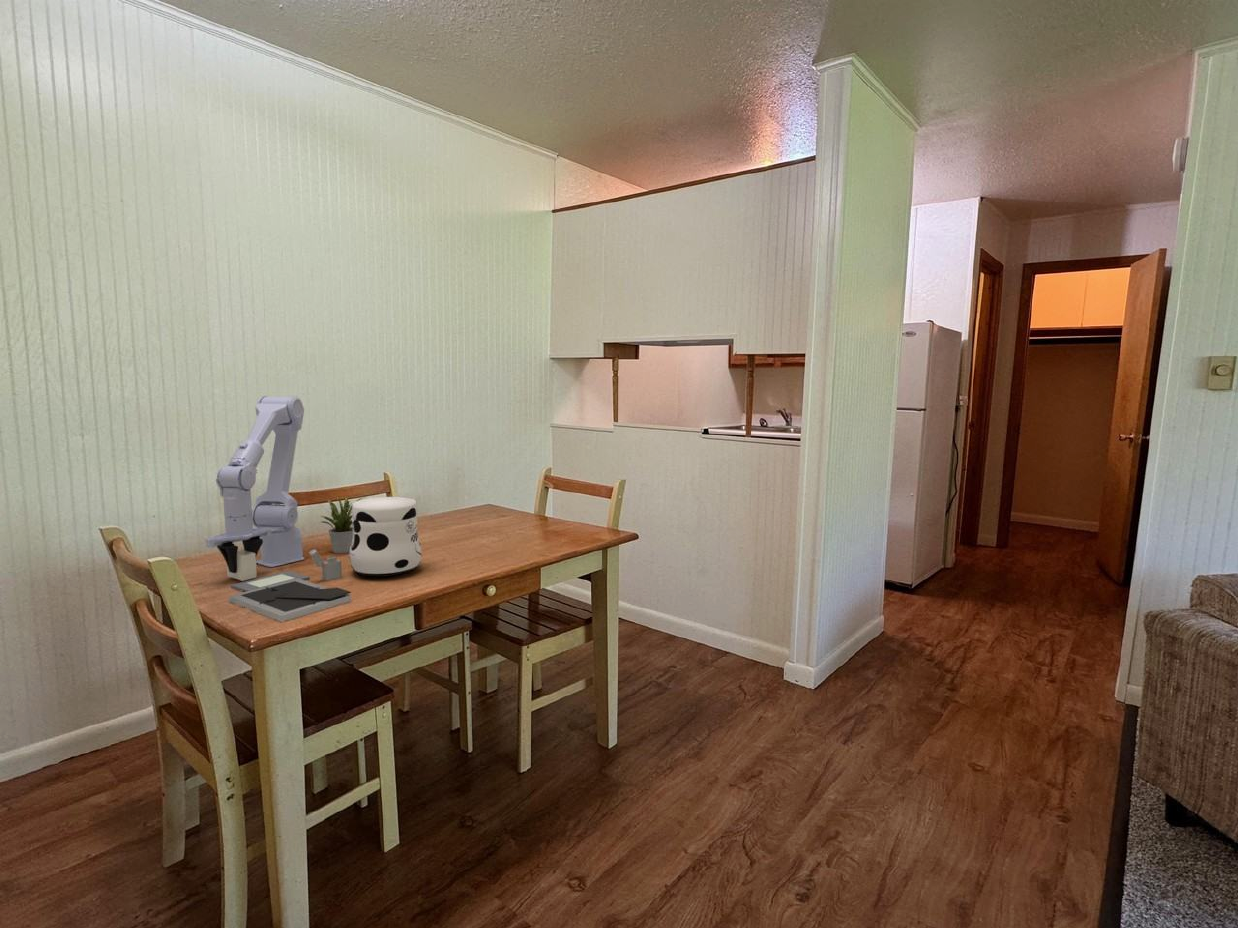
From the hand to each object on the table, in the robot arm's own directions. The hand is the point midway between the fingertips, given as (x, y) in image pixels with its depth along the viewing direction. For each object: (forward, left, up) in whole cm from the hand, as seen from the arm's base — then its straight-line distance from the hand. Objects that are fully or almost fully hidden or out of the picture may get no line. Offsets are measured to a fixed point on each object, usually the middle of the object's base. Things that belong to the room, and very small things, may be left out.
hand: (241, 570), depth 159 cm
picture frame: (+3, +25, -3) cm, 25 cm away
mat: (-2, +9, -2) cm, 9 cm away
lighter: (-11, +17, -2) cm, 20 cm away
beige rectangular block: (0, 0, -2) cm, 2 cm away
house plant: (-31, -2, -2) cm, 31 cm away
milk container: (-24, +23, -2) cm, 33 cm away
